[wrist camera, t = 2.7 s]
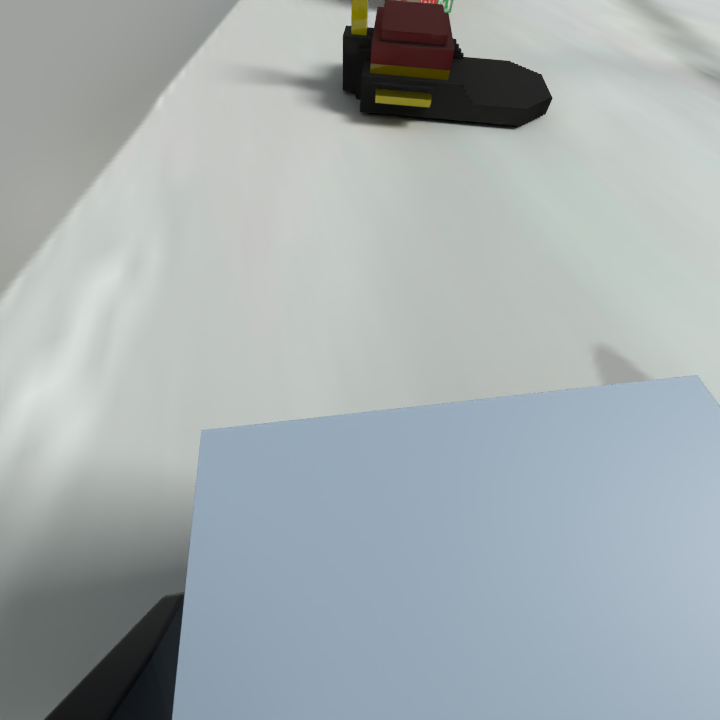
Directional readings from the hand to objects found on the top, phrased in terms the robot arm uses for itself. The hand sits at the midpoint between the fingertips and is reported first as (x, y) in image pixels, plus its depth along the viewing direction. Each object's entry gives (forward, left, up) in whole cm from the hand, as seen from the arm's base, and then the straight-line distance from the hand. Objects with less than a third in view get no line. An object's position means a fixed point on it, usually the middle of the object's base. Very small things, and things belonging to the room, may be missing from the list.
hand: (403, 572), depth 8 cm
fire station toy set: (+38, +19, -8) cm, 43 cm away
